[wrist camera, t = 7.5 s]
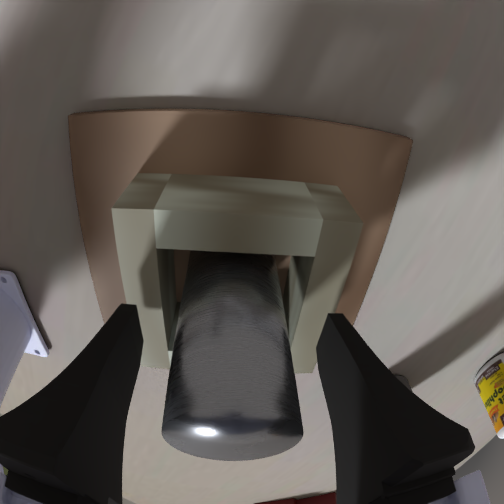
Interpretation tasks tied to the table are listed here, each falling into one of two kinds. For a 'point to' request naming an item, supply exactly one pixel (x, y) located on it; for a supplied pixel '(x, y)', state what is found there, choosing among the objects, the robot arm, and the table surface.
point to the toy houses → (308, 500)
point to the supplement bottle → (493, 391)
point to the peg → (231, 362)
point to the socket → (232, 210)
